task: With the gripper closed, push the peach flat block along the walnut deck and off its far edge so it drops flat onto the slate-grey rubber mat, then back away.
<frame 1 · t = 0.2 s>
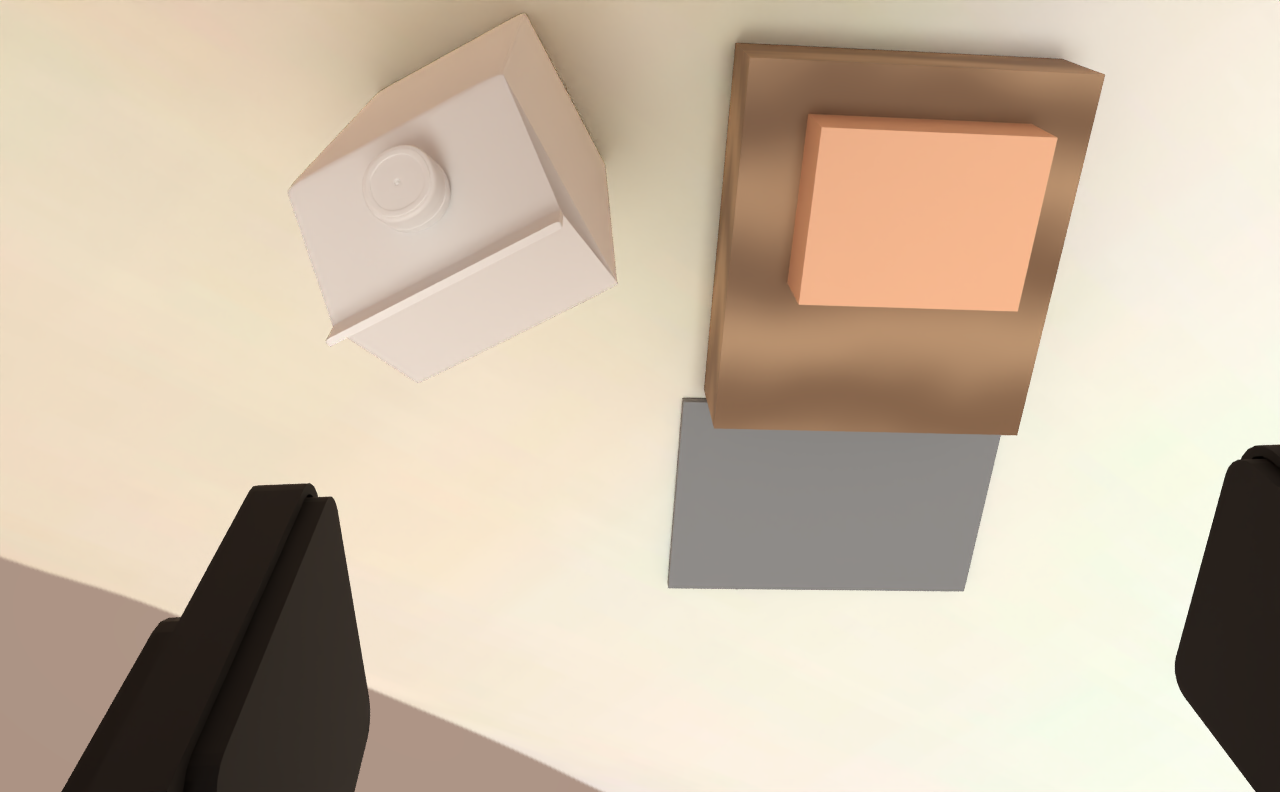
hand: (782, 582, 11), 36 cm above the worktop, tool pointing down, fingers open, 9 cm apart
peach flat block: (905, 205, 42), point 4 cm above the worktop, touching deck
mat: (829, 497, 53), on the worktop
deck: (871, 234, 47), on the worktop
milk carton: (493, 128, 44), on the worktop
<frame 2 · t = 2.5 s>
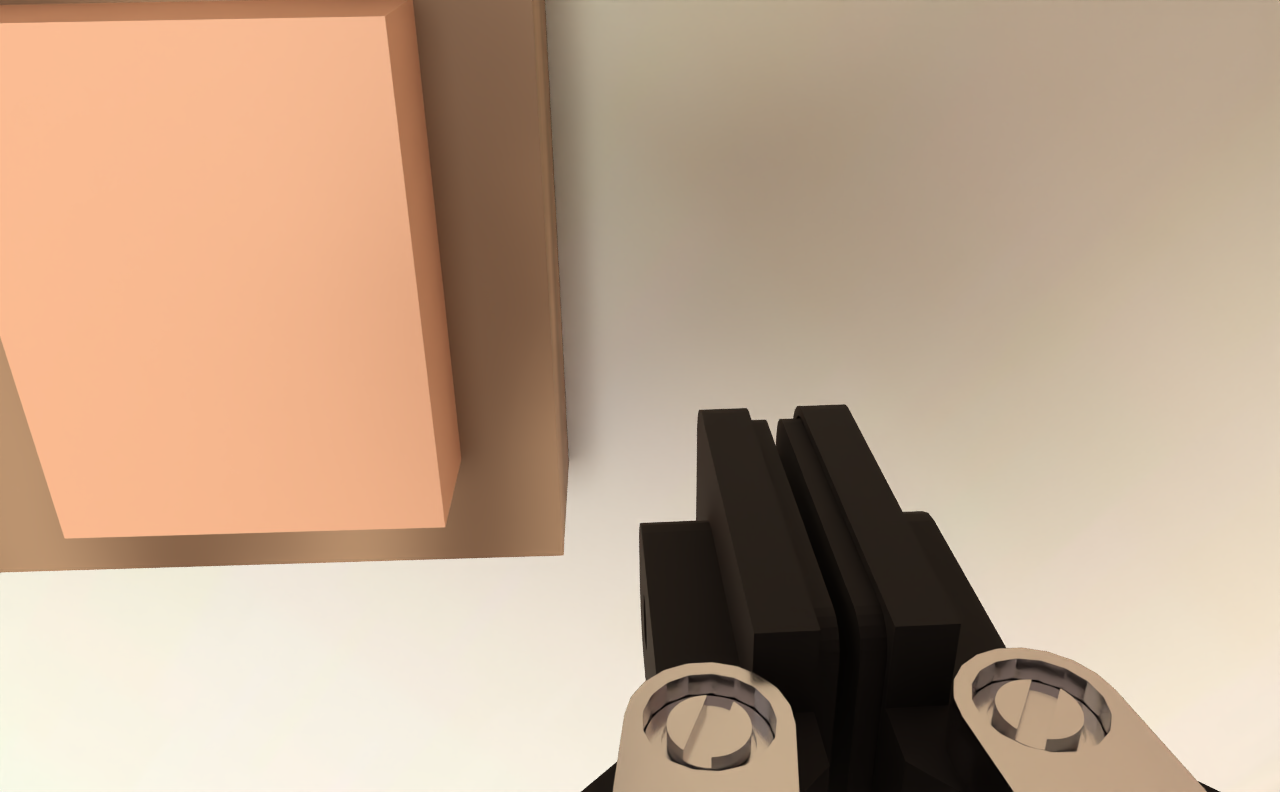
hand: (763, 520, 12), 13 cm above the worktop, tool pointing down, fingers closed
peach flat block: (251, 256, 19), point 4 cm above the worktop, touching deck
deck: (192, 199, 23), on the worktop
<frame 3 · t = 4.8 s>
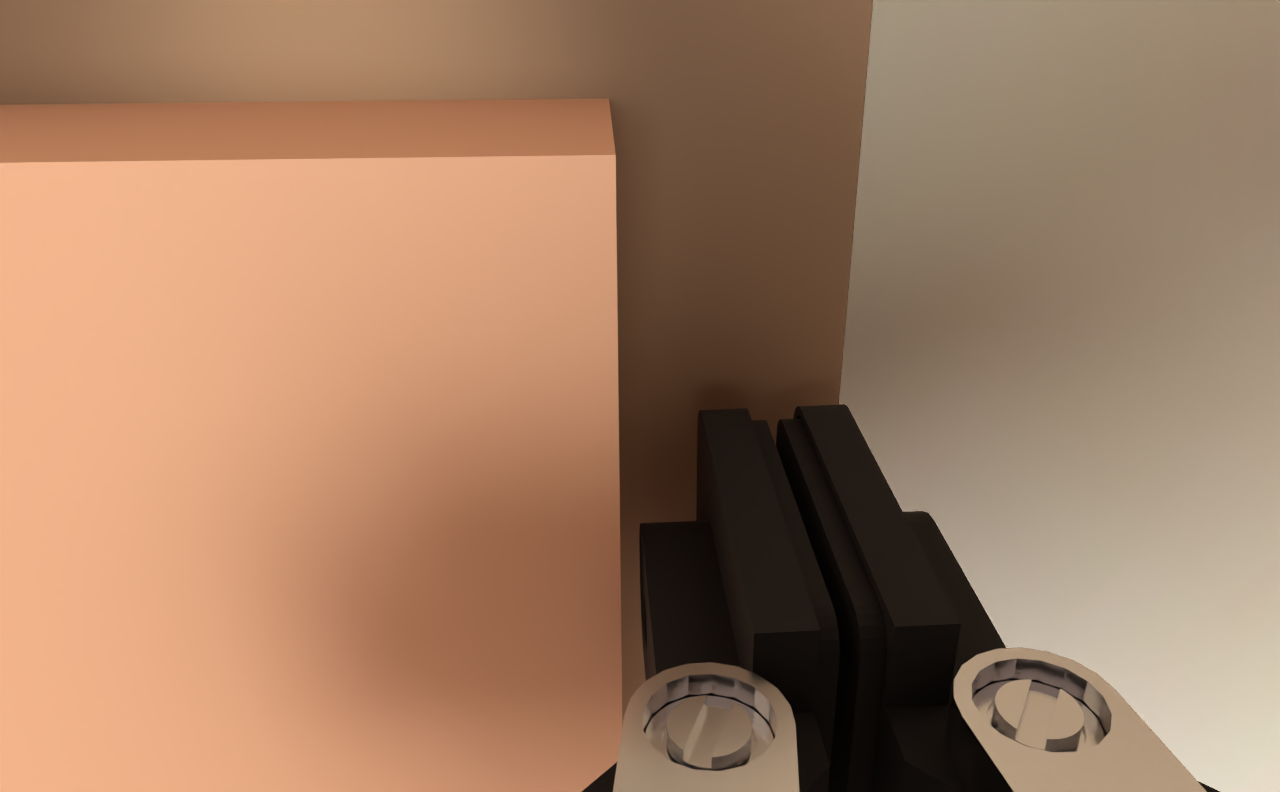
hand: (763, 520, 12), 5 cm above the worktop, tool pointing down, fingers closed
peach flat block: (325, 481, 13), point 4 cm above the worktop, touching deck, gripper
deck: (266, 355, 16), on the worktop
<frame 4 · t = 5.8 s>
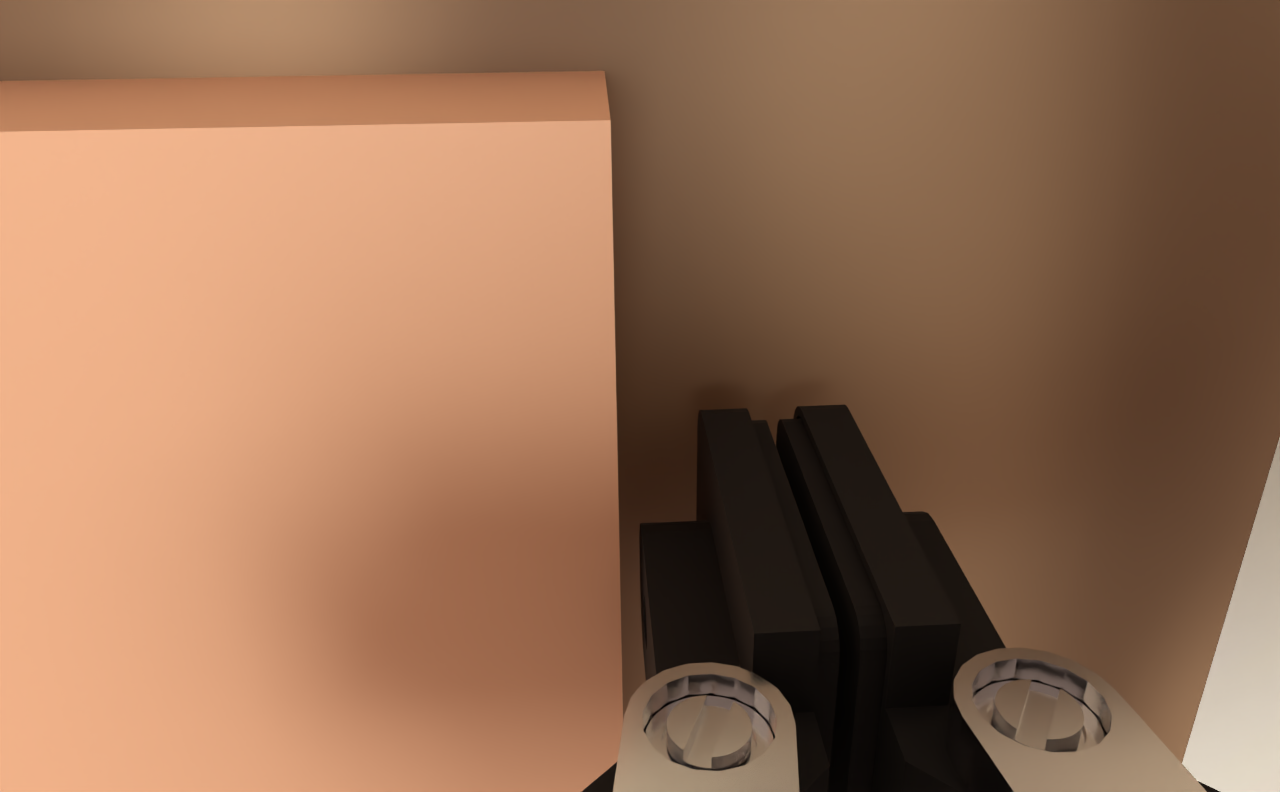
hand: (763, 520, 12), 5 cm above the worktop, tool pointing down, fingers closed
peach flat block: (322, 462, 12), point 4 cm above the worktop, touching deck, gripper
deck: (629, 346, 16), on the worktop
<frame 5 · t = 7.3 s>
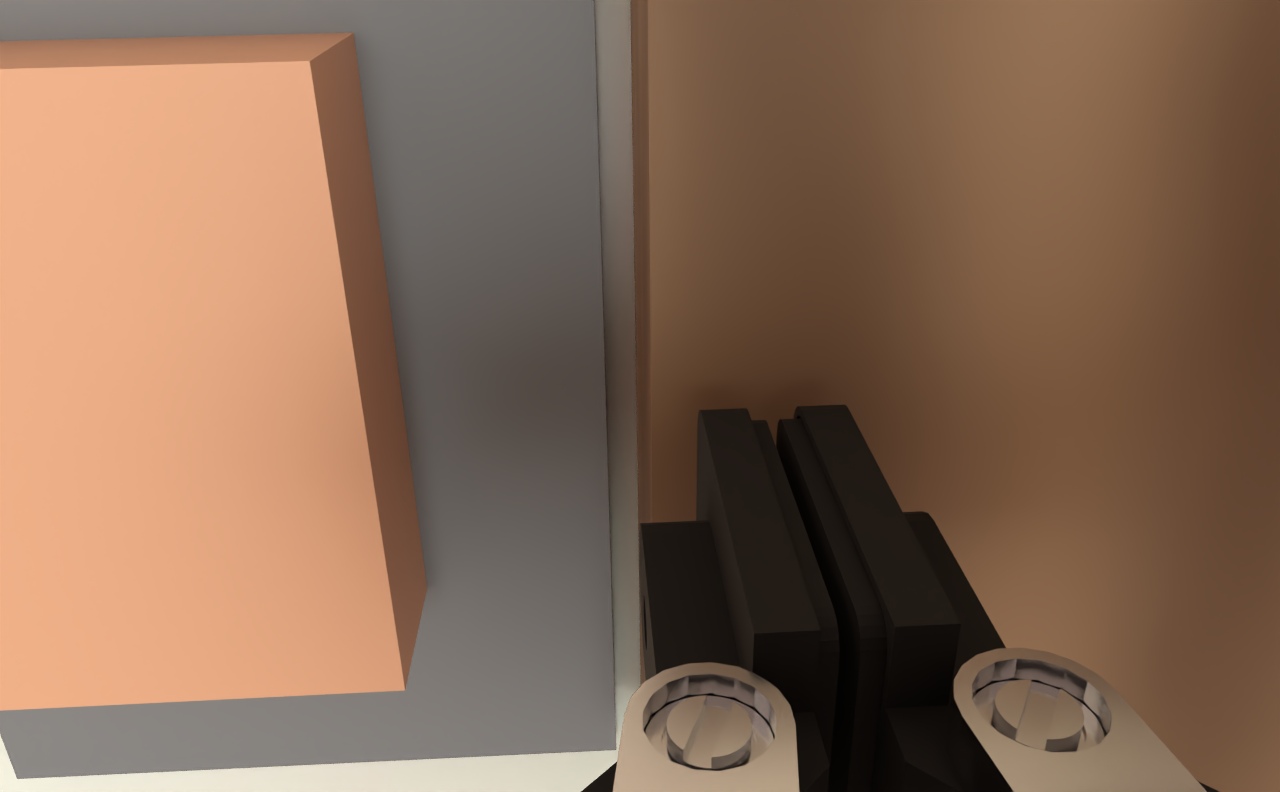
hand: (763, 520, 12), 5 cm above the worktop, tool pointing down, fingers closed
peach flat block: (88, 433, 13), point 3 cm above the worktop, tilted 180°, touching mat
mat: (249, 362, 16), on the worktop
deck: (1132, 334, 17), on the worktop
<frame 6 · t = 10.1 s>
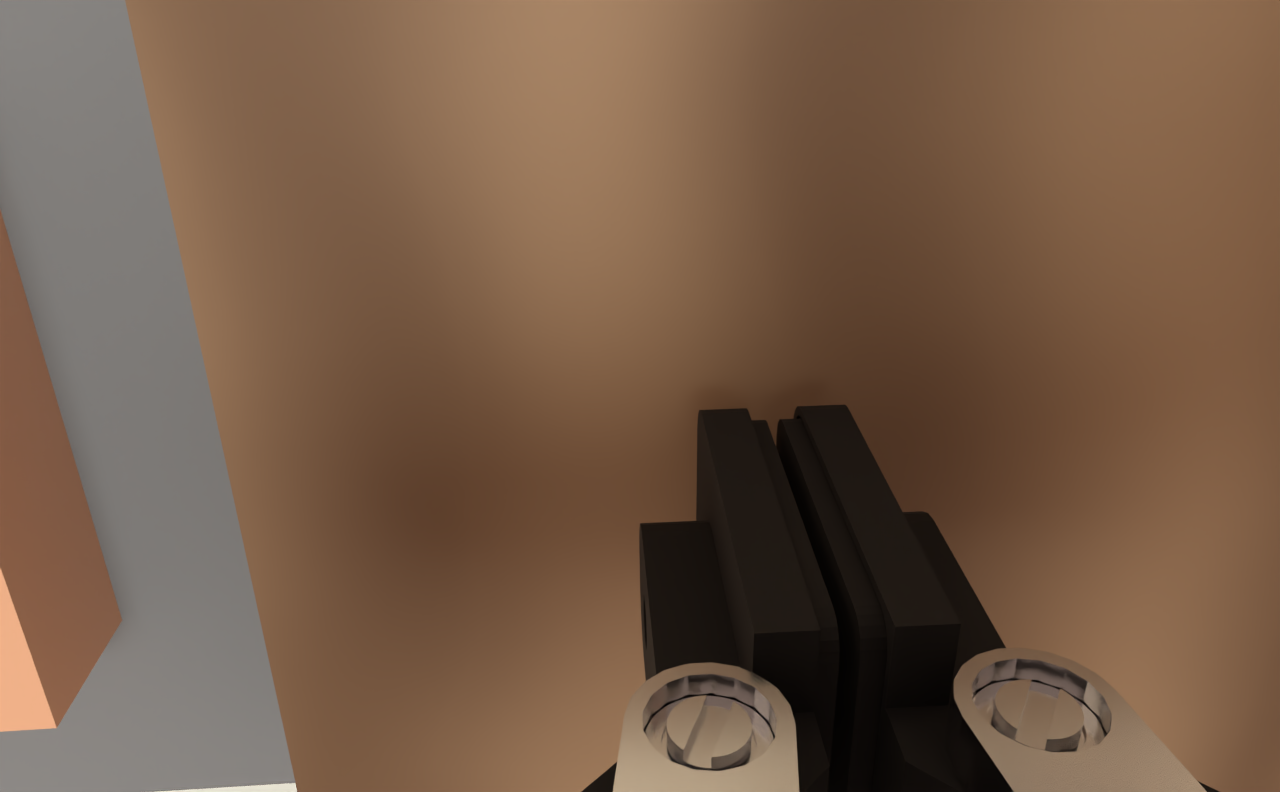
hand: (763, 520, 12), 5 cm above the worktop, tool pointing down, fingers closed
deck: (819, 356, 17), on the worktop
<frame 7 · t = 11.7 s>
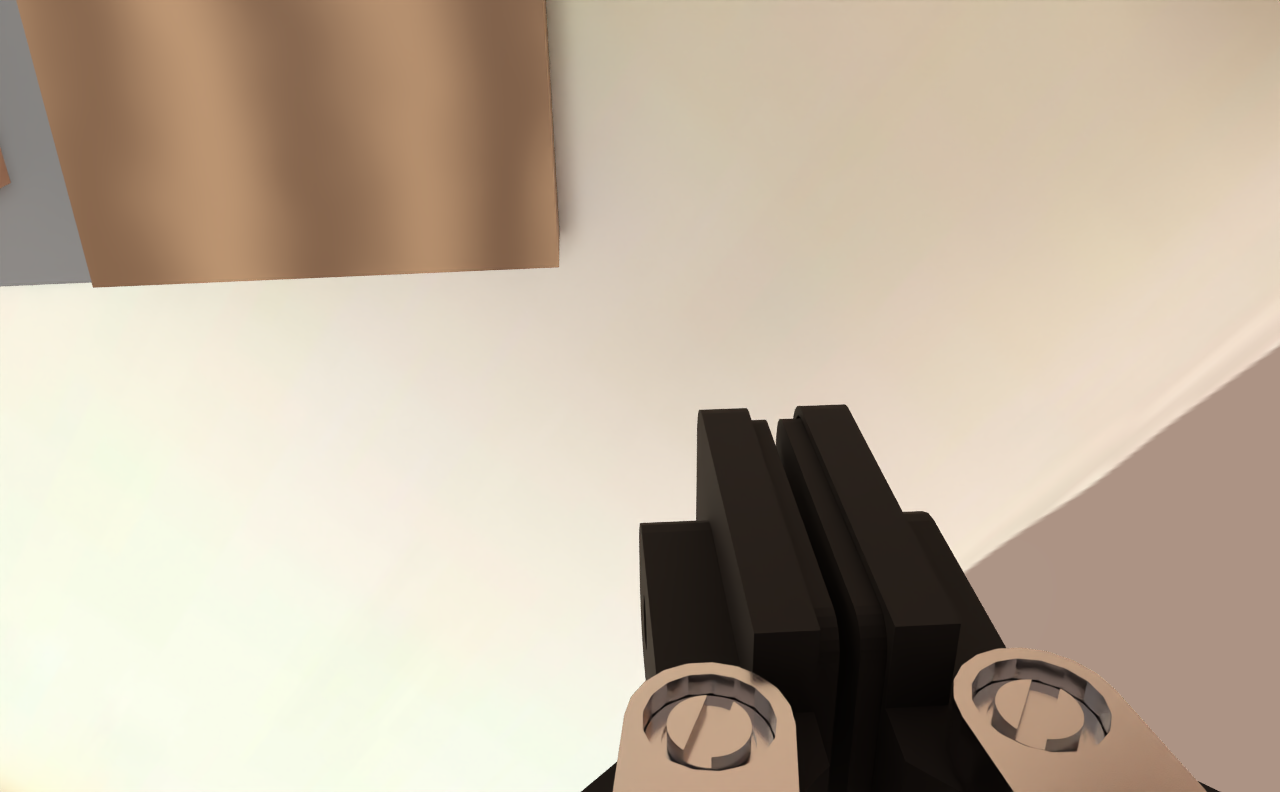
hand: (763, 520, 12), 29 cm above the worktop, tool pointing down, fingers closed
deck: (321, 51, 37), on the worktop
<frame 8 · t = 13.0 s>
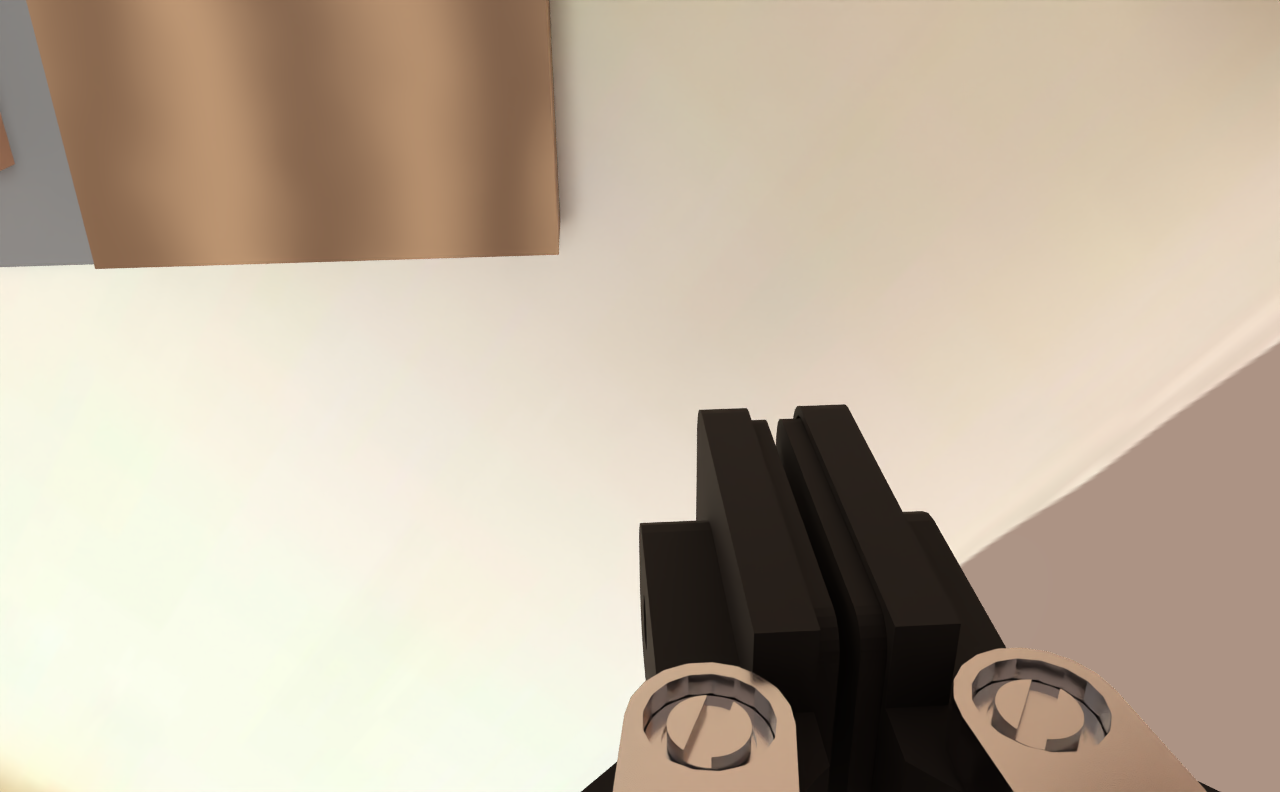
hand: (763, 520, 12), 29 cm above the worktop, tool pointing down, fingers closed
deck: (324, 36, 37), on the worktop
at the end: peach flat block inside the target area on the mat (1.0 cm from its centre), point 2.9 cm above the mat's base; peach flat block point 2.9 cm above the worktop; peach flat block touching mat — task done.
